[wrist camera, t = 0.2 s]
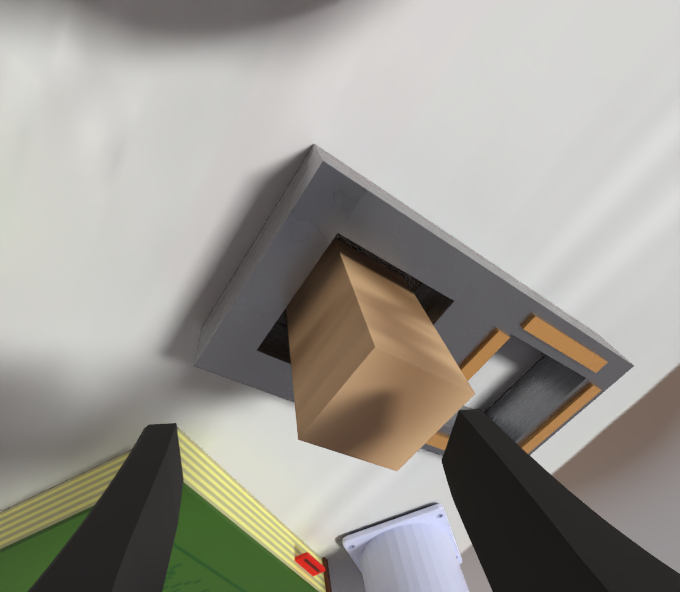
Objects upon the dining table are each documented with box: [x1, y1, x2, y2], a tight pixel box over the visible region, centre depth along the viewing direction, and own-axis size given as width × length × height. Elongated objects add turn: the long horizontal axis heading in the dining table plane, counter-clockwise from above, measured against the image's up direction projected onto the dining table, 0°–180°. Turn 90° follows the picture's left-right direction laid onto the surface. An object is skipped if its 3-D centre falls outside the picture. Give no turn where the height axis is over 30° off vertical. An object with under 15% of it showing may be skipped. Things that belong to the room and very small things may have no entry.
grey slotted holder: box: [194, 144, 634, 456], centre depth 21 cm, size 20×10×3 cm, turn 56°
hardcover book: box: [0, 428, 332, 592], centre depth 28 cm, size 25×19×4 cm
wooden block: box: [286, 238, 475, 471], centre depth 17 cm, size 4×4×8 cm
